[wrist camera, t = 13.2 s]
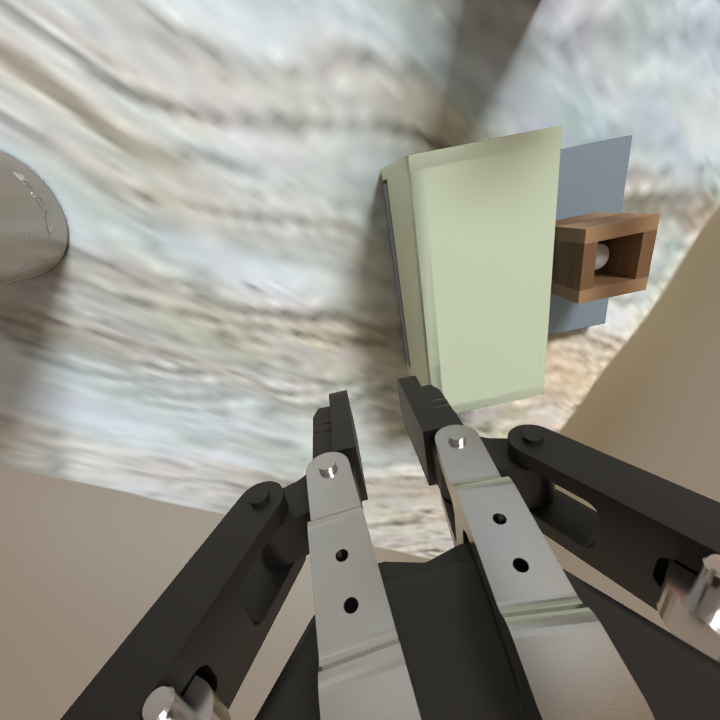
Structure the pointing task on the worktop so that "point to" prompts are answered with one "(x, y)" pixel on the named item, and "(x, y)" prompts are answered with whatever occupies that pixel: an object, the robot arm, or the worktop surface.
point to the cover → (477, 264)
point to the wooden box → (579, 249)
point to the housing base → (574, 198)
